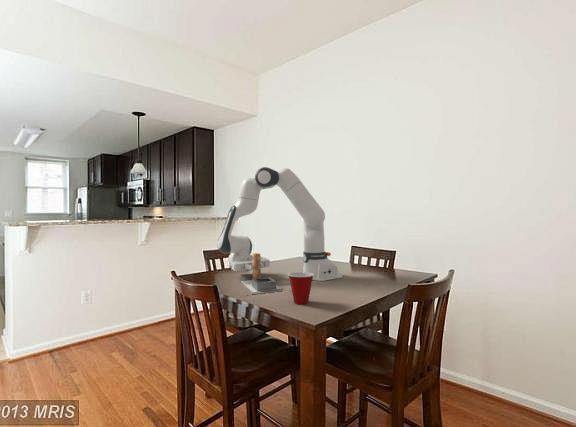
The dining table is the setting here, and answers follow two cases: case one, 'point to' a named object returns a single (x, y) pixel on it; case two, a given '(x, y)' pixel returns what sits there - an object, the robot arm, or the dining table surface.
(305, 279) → the plastic cup
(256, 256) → the peg
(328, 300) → the dining table surface
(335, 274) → the robot arm
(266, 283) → the board
